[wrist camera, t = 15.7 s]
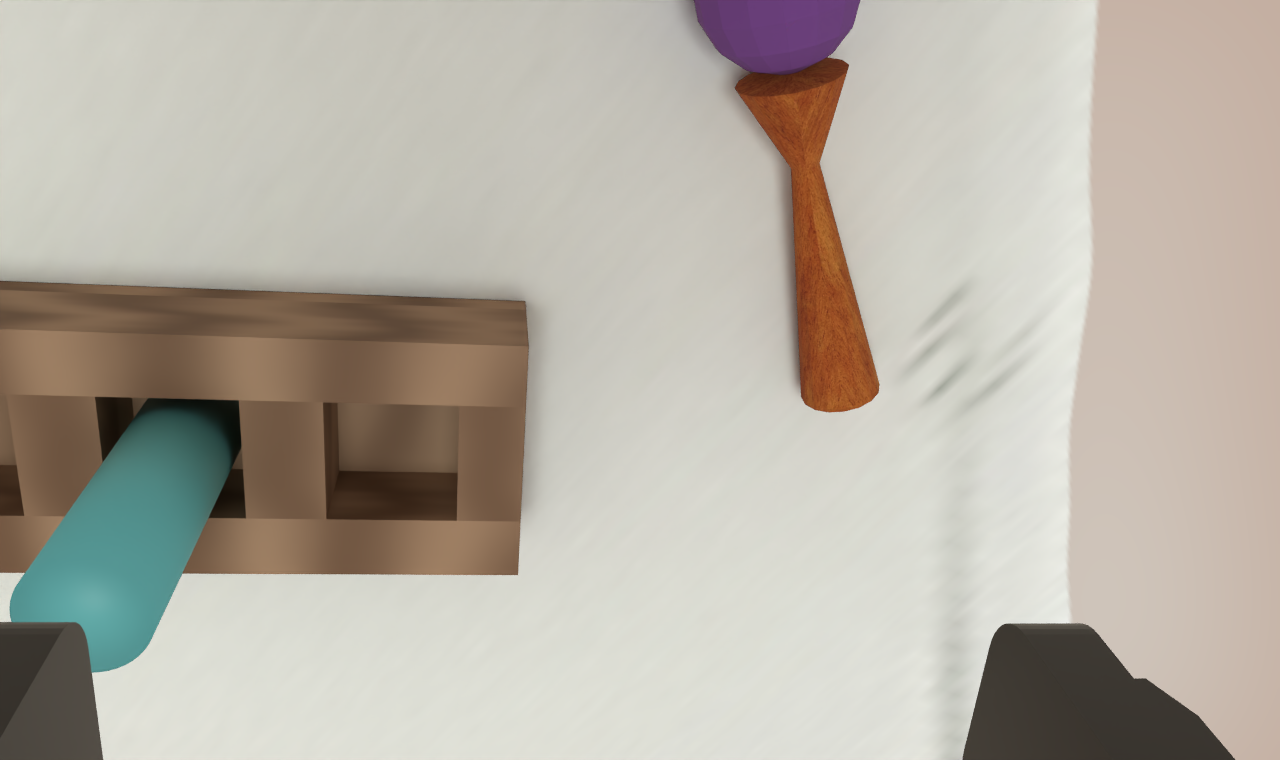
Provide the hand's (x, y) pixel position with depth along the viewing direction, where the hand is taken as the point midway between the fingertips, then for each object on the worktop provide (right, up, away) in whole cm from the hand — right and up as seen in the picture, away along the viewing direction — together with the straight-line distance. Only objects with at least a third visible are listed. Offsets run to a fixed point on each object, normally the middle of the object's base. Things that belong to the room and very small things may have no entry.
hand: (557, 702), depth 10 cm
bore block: (-17, +2, +37) cm, 41 cm away
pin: (-17, +1, +36) cm, 40 cm away
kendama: (+7, +12, +36) cm, 38 cm away
